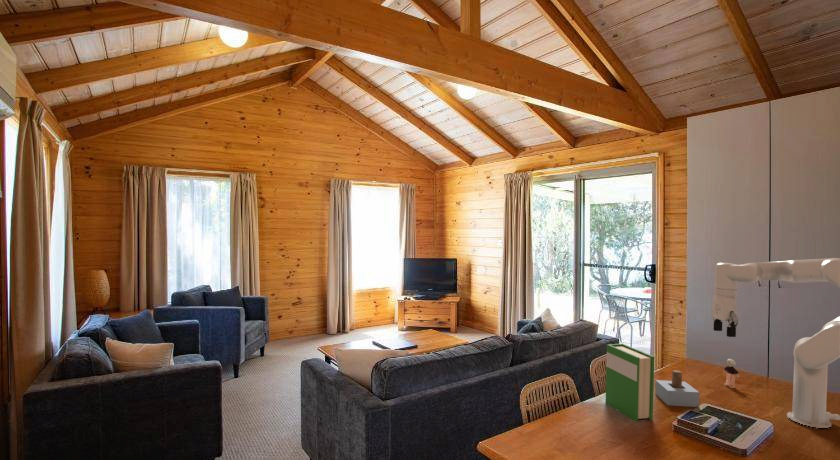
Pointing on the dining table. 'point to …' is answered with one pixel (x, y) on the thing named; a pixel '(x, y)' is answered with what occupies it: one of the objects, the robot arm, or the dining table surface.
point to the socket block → (677, 394)
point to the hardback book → (630, 381)
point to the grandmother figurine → (730, 373)
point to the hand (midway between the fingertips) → (724, 333)
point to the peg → (676, 379)
